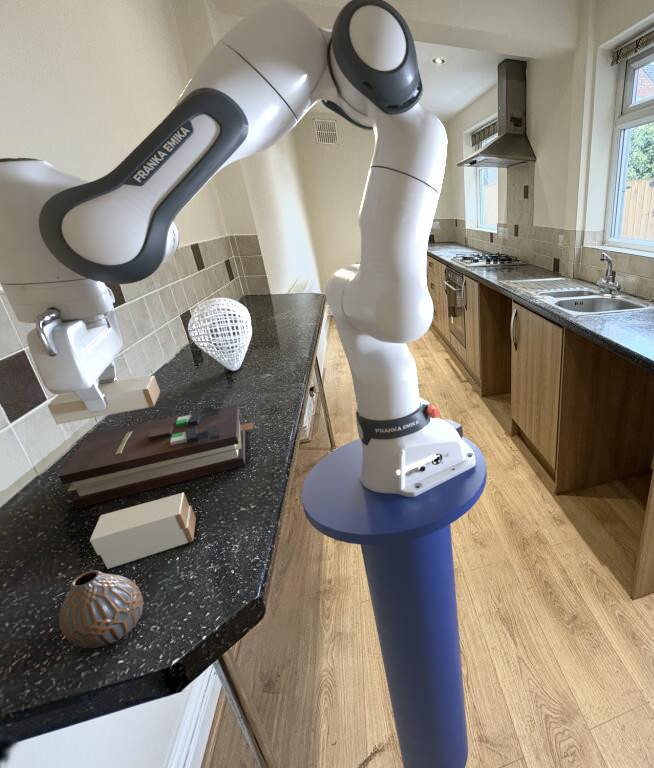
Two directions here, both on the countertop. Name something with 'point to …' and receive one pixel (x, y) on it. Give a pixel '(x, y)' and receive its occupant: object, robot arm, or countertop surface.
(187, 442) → the decorative book
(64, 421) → the cream block
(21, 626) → the countertop surface
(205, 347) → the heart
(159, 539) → the beige rectangular block
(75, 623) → the vase
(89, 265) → the robot arm
